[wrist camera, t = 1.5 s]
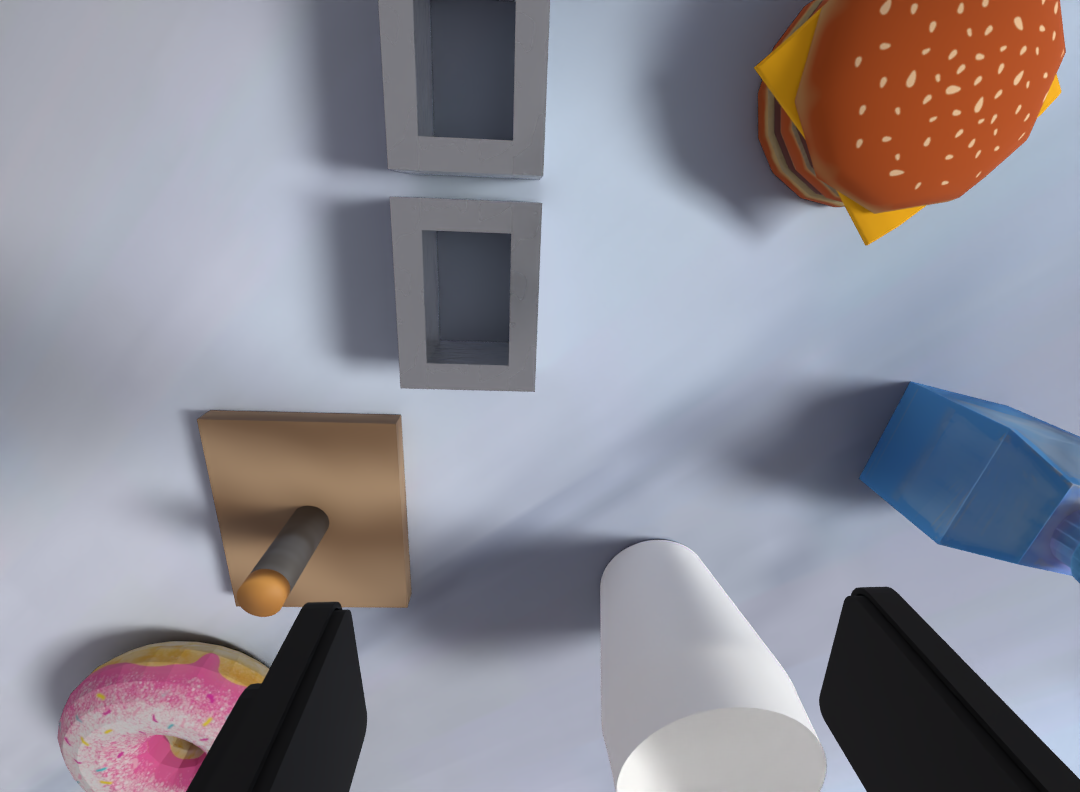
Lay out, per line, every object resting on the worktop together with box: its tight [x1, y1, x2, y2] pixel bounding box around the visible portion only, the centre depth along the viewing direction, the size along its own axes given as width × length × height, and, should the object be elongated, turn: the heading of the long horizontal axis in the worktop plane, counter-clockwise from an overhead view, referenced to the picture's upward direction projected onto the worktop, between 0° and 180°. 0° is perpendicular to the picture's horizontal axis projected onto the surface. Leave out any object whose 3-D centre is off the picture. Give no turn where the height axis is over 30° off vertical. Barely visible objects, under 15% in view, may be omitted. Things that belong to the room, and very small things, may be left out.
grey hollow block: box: [378, 0, 550, 180], centre depth 21 cm, size 8×6×4 cm
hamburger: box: [754, 0, 1066, 245], centre depth 20 cm, size 9×10×7 cm
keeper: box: [197, 410, 411, 617], centre depth 27 cm, size 12×10×7 cm
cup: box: [600, 540, 827, 792], centre depth 27 cm, size 9×9×12 cm
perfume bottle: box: [859, 381, 1080, 583], centre depth 24 cm, size 6×6×12 cm
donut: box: [58, 641, 269, 792], centre depth 33 cm, size 14×13×5 cm
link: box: [390, 197, 542, 392], centre depth 24 cm, size 8×6×4 cm
